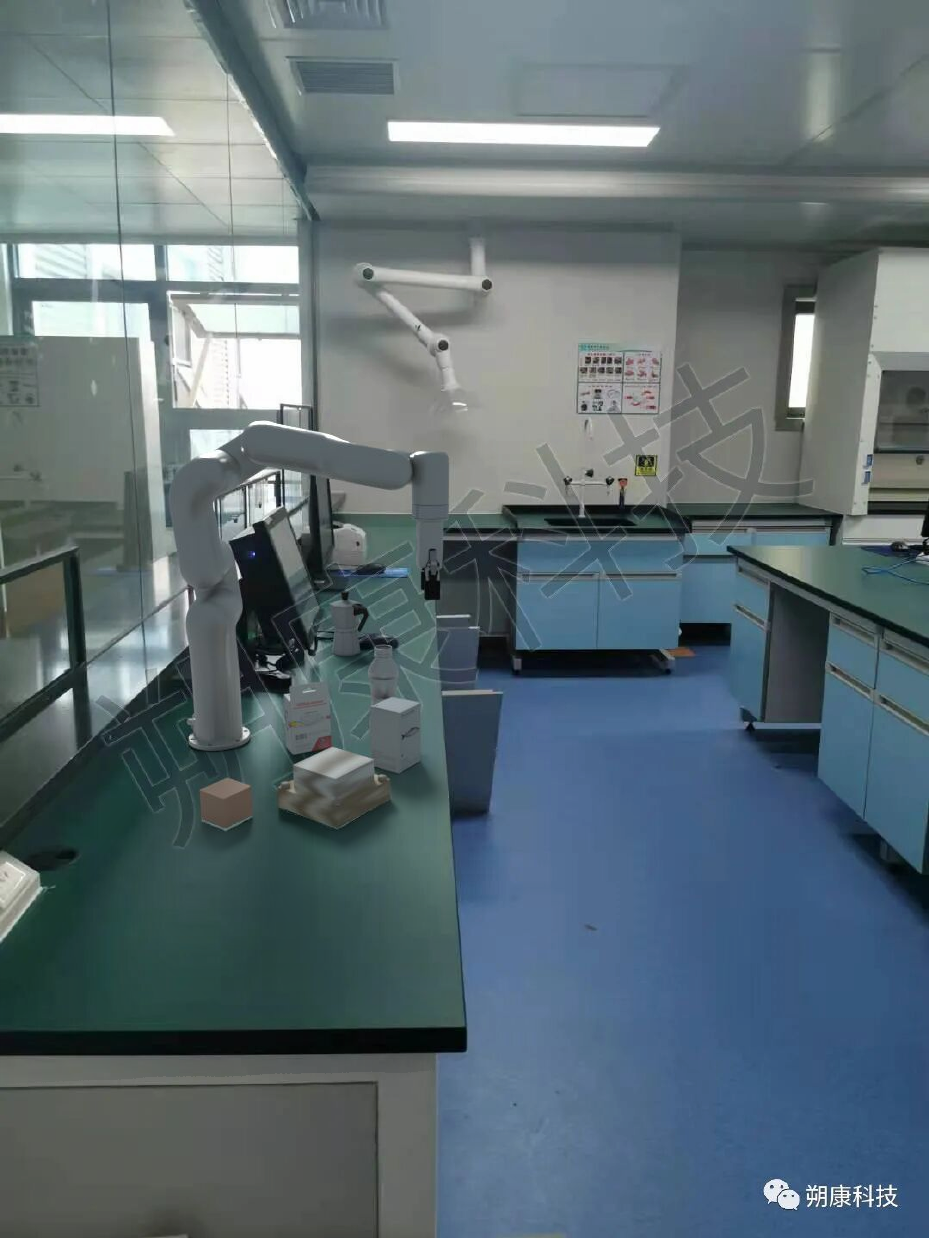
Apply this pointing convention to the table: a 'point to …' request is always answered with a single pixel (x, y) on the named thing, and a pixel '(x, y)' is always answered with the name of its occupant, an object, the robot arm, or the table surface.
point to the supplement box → (395, 734)
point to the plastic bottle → (383, 675)
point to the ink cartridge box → (307, 718)
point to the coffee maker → (347, 625)
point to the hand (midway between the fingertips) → (430, 594)
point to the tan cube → (226, 802)
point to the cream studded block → (334, 787)
